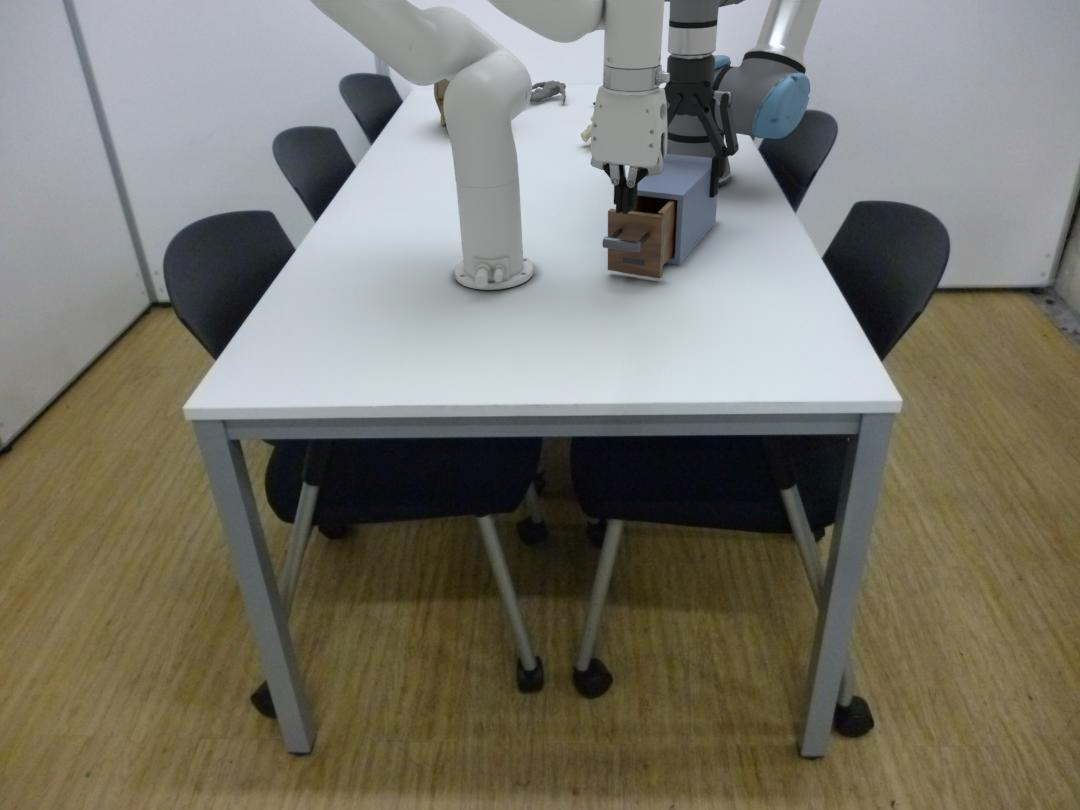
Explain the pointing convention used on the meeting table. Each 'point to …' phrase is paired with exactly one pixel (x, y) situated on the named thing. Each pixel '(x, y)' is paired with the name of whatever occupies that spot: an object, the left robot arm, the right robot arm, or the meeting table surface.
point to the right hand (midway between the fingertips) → (683, 191)
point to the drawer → (642, 237)
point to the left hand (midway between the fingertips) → (624, 210)
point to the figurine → (547, 90)
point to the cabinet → (685, 199)
